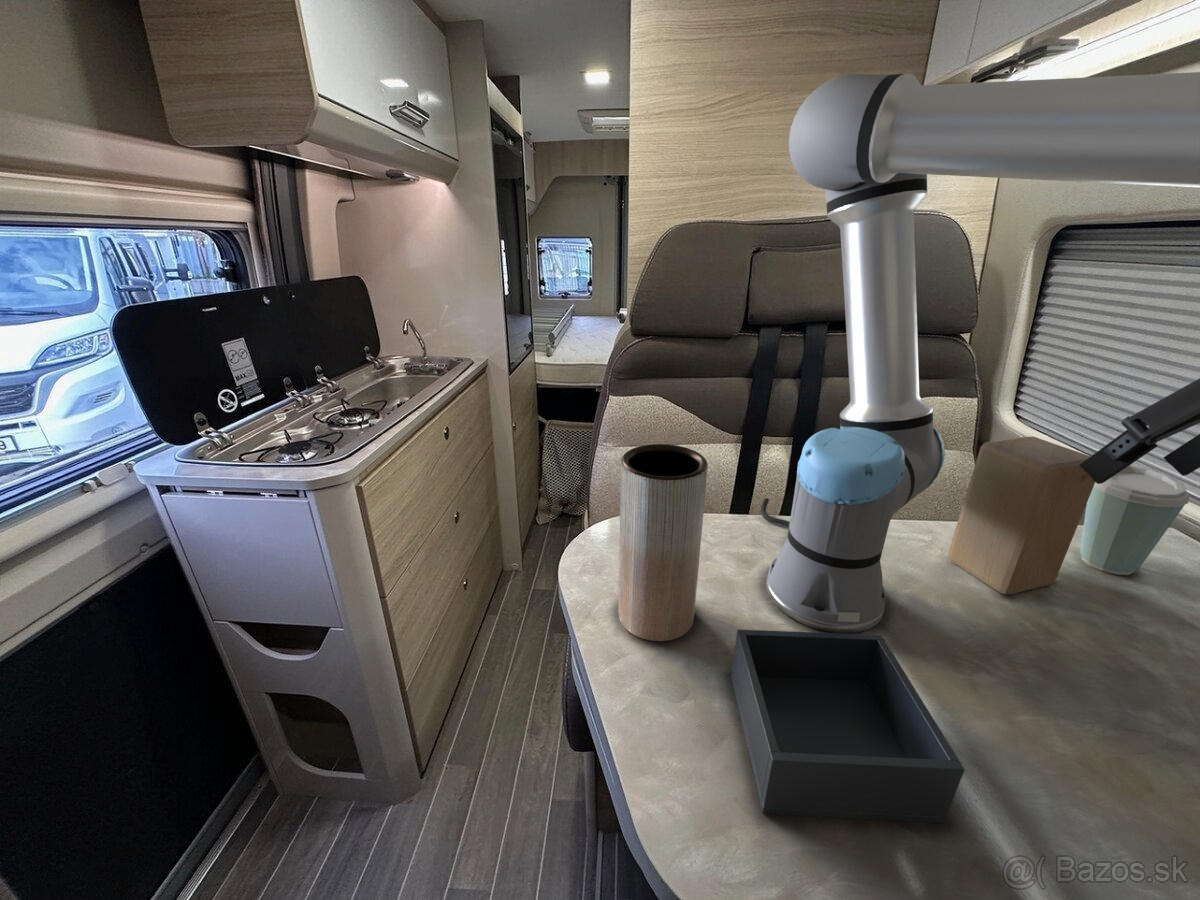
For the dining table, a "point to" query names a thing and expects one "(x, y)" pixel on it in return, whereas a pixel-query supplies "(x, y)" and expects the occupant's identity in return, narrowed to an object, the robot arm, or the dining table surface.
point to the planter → (660, 539)
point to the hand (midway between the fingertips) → (1133, 470)
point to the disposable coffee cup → (1129, 518)
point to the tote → (839, 729)
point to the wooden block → (1020, 513)
